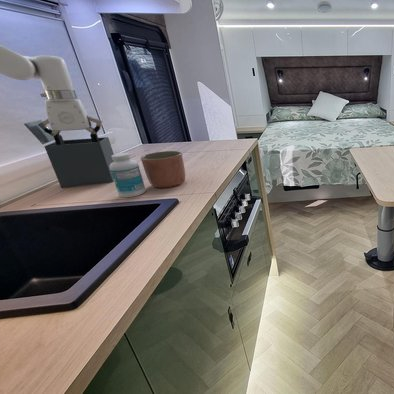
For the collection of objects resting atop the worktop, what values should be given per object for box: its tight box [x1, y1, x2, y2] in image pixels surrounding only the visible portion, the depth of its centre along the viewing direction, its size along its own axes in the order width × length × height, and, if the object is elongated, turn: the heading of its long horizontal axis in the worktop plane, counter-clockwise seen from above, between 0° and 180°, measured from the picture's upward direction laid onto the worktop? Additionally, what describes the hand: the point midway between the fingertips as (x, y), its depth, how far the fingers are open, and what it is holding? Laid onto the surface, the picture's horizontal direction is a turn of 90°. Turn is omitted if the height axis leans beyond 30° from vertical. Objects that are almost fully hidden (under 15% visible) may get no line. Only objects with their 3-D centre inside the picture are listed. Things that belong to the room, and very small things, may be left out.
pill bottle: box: [109, 152, 147, 198], centre depth 94 cm, size 8×7×14 cm
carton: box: [44, 136, 114, 189], centre depth 107 cm, size 15×11×15 cm
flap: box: [23, 119, 55, 145], centre depth 100 cm, size 7×11×1 cm
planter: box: [140, 150, 186, 189], centre depth 104 cm, size 12×12×11 cm
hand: (79, 145), depth 105 cm, fingers open, 9 cm apart
